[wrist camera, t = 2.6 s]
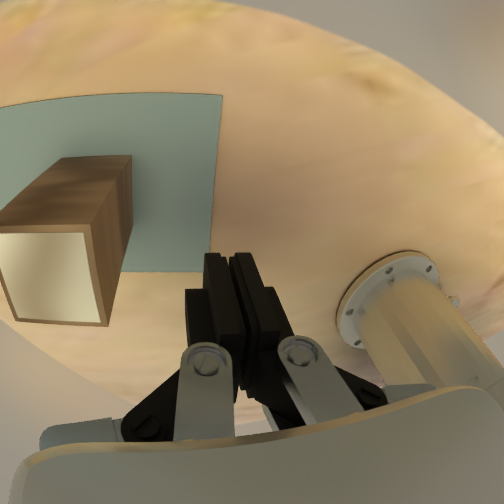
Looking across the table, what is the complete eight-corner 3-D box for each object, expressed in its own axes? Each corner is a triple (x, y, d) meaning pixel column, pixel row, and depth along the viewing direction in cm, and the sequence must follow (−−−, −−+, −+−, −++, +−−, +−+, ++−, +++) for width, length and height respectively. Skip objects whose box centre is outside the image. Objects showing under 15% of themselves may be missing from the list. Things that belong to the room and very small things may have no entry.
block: (131, 154, 18) (89, 225, 10) (133, 224, 21) (108, 327, 13) (61, 157, 17) (-17, 227, 9) (68, 225, 20) (15, 321, 12)
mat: (221, 95, 18) (222, 95, 18) (207, 267, 25) (208, 272, 24) (-46, 119, 13) (-50, 121, 13) (-19, 264, 20) (-22, 268, 20)
